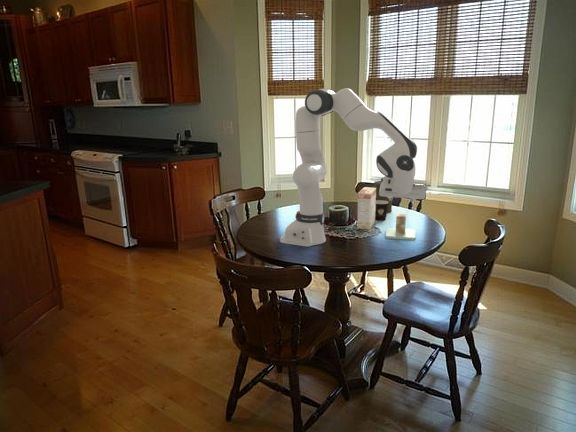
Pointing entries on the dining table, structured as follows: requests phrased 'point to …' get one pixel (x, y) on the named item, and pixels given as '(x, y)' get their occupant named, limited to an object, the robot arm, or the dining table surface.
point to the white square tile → (407, 236)
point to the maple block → (400, 223)
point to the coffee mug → (381, 210)
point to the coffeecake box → (366, 208)
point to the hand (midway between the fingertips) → (401, 200)
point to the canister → (382, 196)
